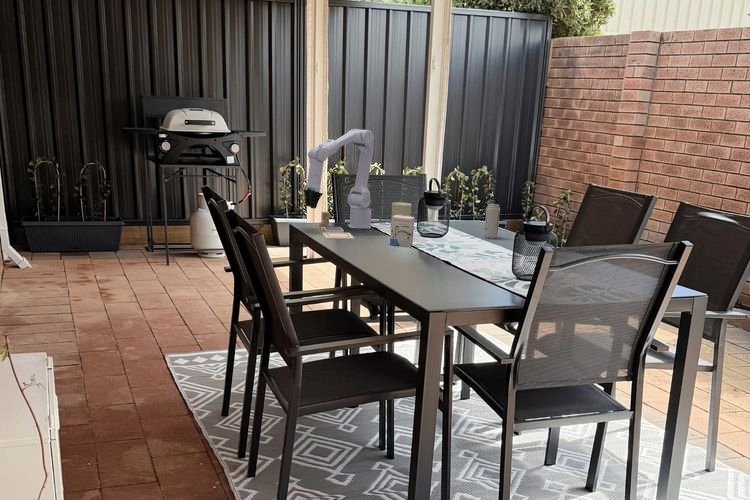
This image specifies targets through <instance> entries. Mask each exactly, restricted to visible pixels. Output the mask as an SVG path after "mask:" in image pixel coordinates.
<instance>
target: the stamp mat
mask: <svg viewBox="0 0 750 500" xmlns="http://www.w3.org/2000/svg"><path fill="white" fill-rule="evenodd" d="M321 234H322V236H323V237H324V238H325V239H327V240H331V239H332V240H337V239H338V240H355V239H356V238H355V237H354V236H353V235H352V234H351V233H350V232H344V233H340V232H325V231H323V232H321Z"/></svg>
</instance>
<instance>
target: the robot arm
mask: <svg viewBox="0 0 750 500" xmlns="http://www.w3.org/2000/svg"><path fill="white" fill-rule="evenodd" d="M374 140H375V136H374V134H373V132H372V131H371V130H369V129H361V128H360V129H358V128H352V129H351V130H348V131H347V132H346V133H344V134H343V135H342V136H340V137H338V138H337V139H335V140H334V139H331V138H329V139H326V142H324V143H320V144H318V146H317V147H316V146H313V147H311V148H310V150H309V152H307V156H308V158H309V168H308V175H307V182H306V184H304V185H303V187H305V188H306V189H303V194H304V199H305V206H306V207H308V208H309V207H310V209H316V208H317V206H318V203H319V201H320V199H321V197H322V196H323V194H324V193H323V192H321V183H322V176H323V170H324V163H325V161H327V159H328V157H330V156H333V154H335V153H337V152H338V151H339V149H340V148H341V147H343V146H345V145H347V144H349V143H352V144H354V146H355V147H357V149H358V150H359V151H360V153H359V160H358V165H357V171H356V178H355V182H354V186H353V187H351V188H350V191H349V193H348V195H347V199H346V200H347V204H348V205H349V207H350V213H349V214H350V215H349V224H347V226H348V227H349V228H350V229H372V209H371V208H368V207H369V206H370V205H371V192H370V190H369V189H368V183H369V177H370V171H371V170H370V169H371V166H372V159H373V153H374Z"/></svg>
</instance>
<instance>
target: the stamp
mask: <svg viewBox="0 0 750 500" xmlns="http://www.w3.org/2000/svg"><path fill="white" fill-rule="evenodd" d="M319 226H320V227H332V223H331V222H330V212H328V211H321V221H320V222H318V227H319ZM320 227H319V228H320Z"/></svg>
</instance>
